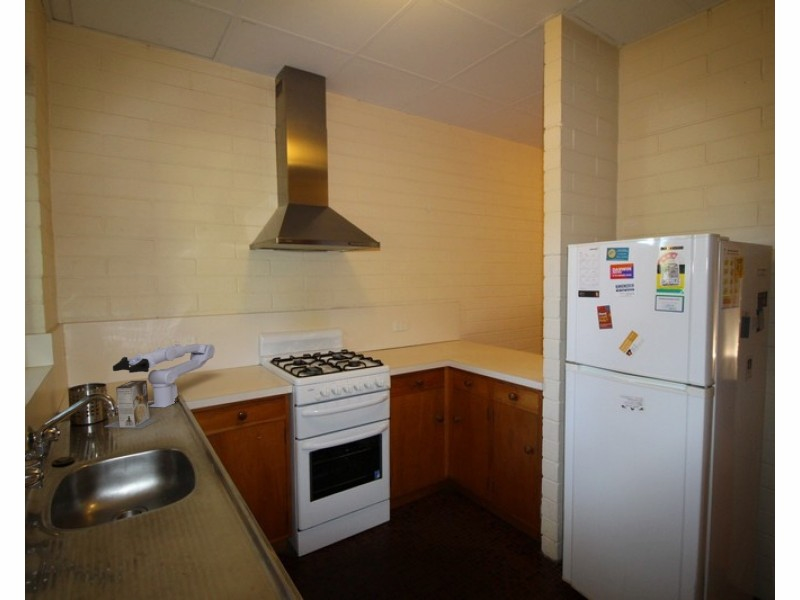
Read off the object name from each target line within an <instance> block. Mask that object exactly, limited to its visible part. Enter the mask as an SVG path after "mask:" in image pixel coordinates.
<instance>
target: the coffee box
mask: <svg viewBox="0 0 800 600" xmlns="http://www.w3.org/2000/svg"><path fill="white" fill-rule="evenodd" d="M147 381H148V379H147V380H146V379H145V380H143V379H142V380H130V381H128V382H126V383H123V384H121V385H118V386H116V400H117V402H116V403H117V410H118V420H119V424H120V427H136V426H138V425H140V424H141V423H143V422H145V421H146V420H148V419H151V416H150V407H149V406H150V405H149V394H148V393H149V392H148V382H147Z"/></svg>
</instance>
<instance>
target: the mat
mask: <svg viewBox="0 0 800 600" xmlns="http://www.w3.org/2000/svg"><path fill="white" fill-rule="evenodd" d="M157 421H159V419H151V418H150V419H148V420H146V421H145V422H143V423H141V424H140V425H138V426H136V427H120V424H119V419H117V420H116V421H113V422H112V423H109V424H107V425H105V426H104V428H112V429H113V428H116V429H133V430H141V429H144V428H146V427H148V426H149V425H151V424H153V423H156V422H157Z"/></svg>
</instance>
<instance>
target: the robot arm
mask: <svg viewBox="0 0 800 600" xmlns="http://www.w3.org/2000/svg"><path fill="white" fill-rule="evenodd" d="M215 352H216V350H215V346H214V345H213V344H210V343H209V344H199V343H193V344H189V345H185V346H184V345H182V344H179V343H177V344H175V345H174V346H171V345H168V346H166V347H157V348H156V349H155V350H153V351H151V352H147V353H145V354H142V353H137V354H136V356H134V357H130V358H128V357H127V356H123V357H121V359H120V360H119V361H118V362H117V363H115V364H114V365H113V366H112V371H113V372H119V371H128V373H129V374H132V373H139V372H140V373H141V372H142V373H148V376H147V381H148V383H149V384H151V387H152V390H153V391H152V392H153V394H152V395H153V404H151V405H149V408H167V407H169V406H172V405H173V404H176V403H175V402H174V401H175V398H176V397H177V396H179V395H178V386H177V384H176V383H175V381H177V380H178V377H181V376H184V375H186V374H188V373H190V372H193V371H195V370H198V369H200V368H202V367H203V366H204V365H205V364H206V363H207V362H208V361H209V360H210V359H212V358H213V357H214V355H215ZM186 354H190V355H189V357H190V358H189V360H187V361H184V362H181V363H180V364H176V365H174V366H171V367H169V368H162V369H153V368H155V367H156V365H159V364H161V363H162V362H166V361H167V362H169V361H171V362H173V360H175V359H178V358H179V359H180V358H182V357H184V356H185V355H186ZM150 369H152V370H151V371H150ZM149 371H150V372H149Z"/></svg>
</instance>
